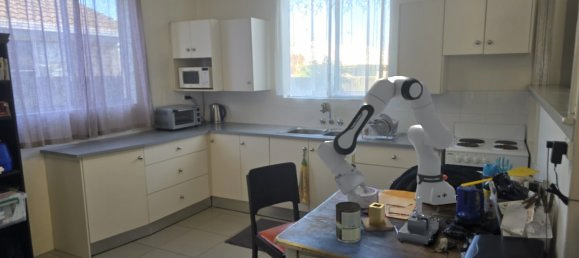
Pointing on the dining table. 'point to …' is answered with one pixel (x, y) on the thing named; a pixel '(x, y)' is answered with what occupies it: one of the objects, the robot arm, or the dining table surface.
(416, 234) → the vise
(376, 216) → the pale yellow block
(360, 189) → the white bowl
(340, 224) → the coffee can
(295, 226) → the dining table surface
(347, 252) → the dining table surface
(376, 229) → the walnut board
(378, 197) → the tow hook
